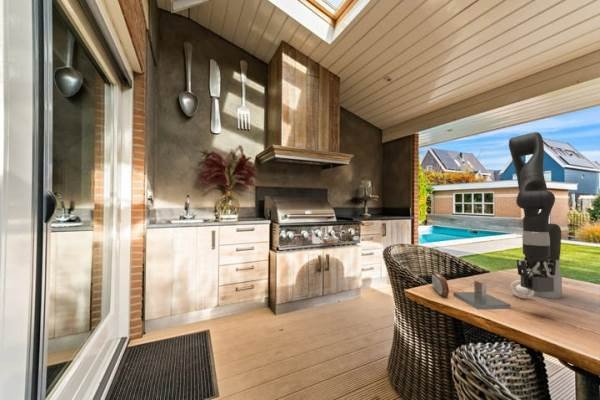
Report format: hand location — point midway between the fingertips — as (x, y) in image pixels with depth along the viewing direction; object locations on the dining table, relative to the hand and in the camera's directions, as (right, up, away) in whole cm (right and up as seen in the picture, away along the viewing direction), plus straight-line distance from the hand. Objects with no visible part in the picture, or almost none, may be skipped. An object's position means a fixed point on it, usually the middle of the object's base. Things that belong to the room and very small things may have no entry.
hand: (536, 286), depth 93 cm
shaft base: (-12, -11, +12) cm, 20 cm away
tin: (-24, -11, +23) cm, 35 cm away
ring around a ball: (+8, -11, +16) cm, 21 cm away
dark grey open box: (0, -1, 0) cm, 1 cm away
